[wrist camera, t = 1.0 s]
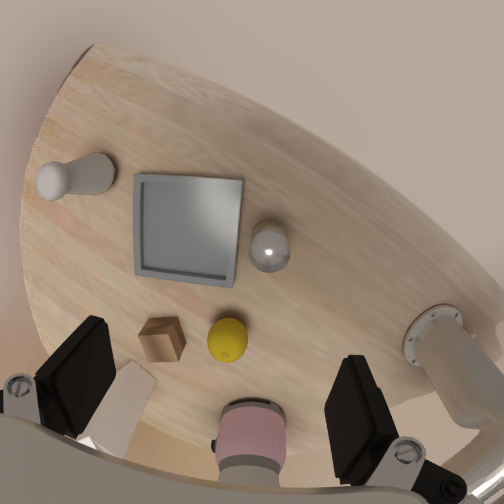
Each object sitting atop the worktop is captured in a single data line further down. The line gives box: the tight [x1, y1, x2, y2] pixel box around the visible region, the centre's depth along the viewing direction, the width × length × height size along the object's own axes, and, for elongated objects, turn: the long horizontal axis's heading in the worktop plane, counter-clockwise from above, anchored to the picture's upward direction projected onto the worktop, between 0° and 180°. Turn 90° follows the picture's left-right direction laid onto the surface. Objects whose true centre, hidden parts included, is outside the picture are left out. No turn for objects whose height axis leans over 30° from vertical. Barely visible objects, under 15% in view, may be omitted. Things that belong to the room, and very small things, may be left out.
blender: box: [211, 402, 286, 487], centre depth 34 cm, size 16×12×32 cm
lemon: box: [207, 318, 248, 363], centre depth 39 cm, size 6×6×8 cm
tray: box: [133, 173, 243, 288], centre depth 37 cm, size 14×14×2 cm
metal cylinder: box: [249, 220, 290, 273], centre depth 35 cm, size 4×4×7 cm
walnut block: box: [138, 316, 186, 362], centre depth 41 cm, size 5×5×5 cm
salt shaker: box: [36, 153, 116, 201], centre depth 30 cm, size 6×6×13 cm
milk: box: [76, 360, 157, 459], centre depth 37 cm, size 6×6×22 cm
